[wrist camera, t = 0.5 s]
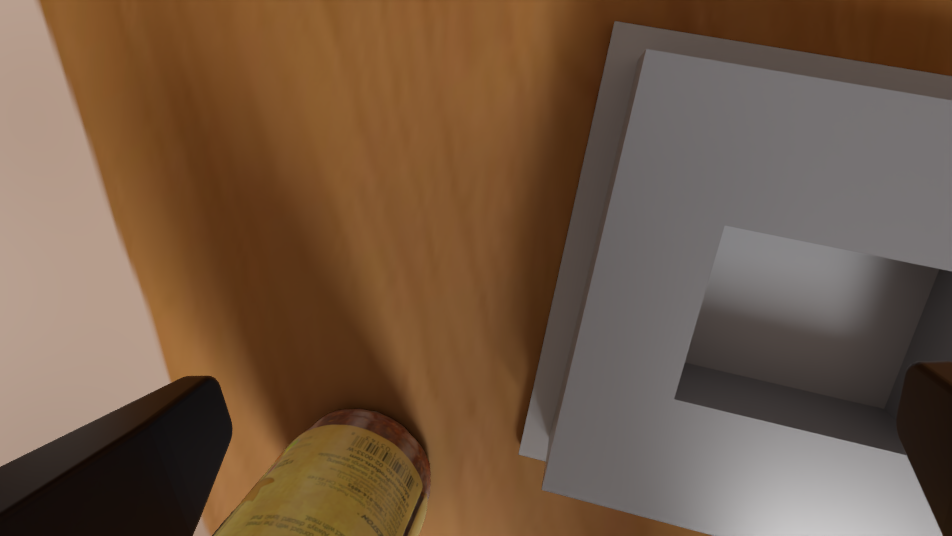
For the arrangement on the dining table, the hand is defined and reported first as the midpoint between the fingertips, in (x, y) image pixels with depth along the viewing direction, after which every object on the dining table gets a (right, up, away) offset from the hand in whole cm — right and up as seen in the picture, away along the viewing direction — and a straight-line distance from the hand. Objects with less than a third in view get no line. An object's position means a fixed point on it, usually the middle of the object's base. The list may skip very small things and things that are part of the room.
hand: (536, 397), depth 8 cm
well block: (+10, 0, +13) cm, 17 cm away
